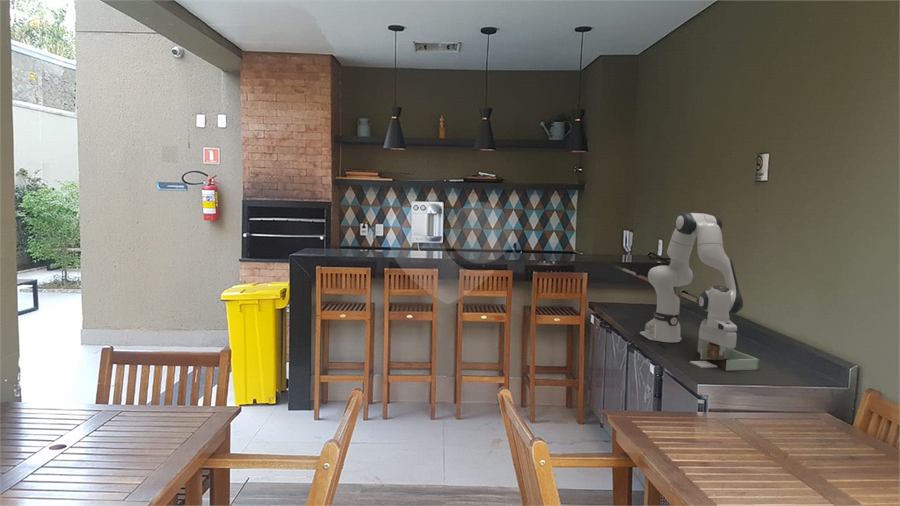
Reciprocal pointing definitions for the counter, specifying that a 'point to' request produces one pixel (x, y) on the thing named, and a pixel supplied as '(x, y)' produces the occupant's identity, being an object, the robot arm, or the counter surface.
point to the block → (714, 352)
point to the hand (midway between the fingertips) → (715, 353)
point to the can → (701, 345)
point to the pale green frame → (736, 360)
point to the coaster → (703, 364)
